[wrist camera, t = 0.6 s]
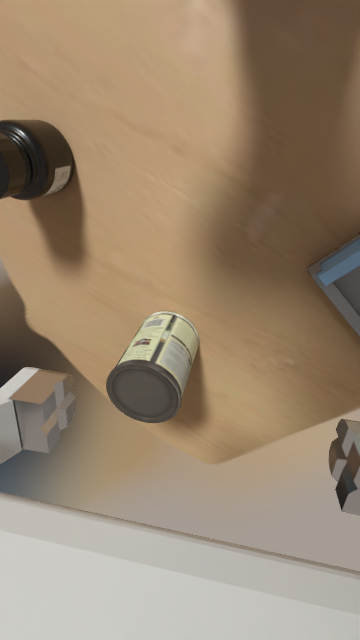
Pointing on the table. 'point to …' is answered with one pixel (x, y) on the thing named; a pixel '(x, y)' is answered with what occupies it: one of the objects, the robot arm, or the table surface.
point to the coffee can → (154, 368)
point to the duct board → (341, 280)
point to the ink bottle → (32, 159)
